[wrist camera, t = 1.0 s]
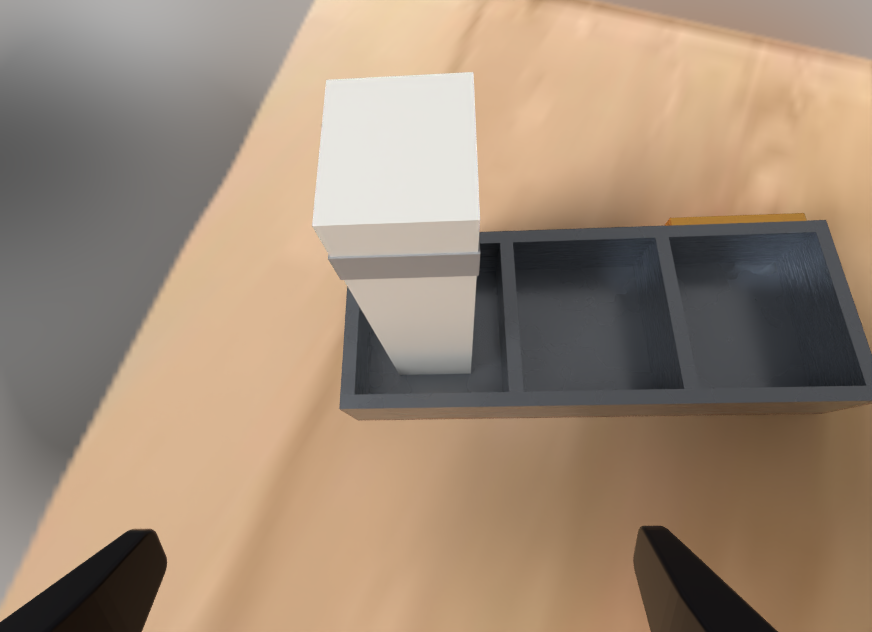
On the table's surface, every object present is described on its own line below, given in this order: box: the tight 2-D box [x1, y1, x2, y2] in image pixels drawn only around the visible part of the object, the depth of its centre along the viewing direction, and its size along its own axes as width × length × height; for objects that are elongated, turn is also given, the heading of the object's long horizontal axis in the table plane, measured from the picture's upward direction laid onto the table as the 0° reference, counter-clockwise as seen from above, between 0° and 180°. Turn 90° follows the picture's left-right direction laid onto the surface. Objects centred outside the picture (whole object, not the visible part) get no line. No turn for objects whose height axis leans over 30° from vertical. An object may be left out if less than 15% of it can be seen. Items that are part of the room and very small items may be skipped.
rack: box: [340, 213, 872, 420], centre depth 22 cm, size 22×9×4 cm, turn 90°
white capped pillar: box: [312, 72, 480, 375], centre depth 17 cm, size 4×4×14 cm
